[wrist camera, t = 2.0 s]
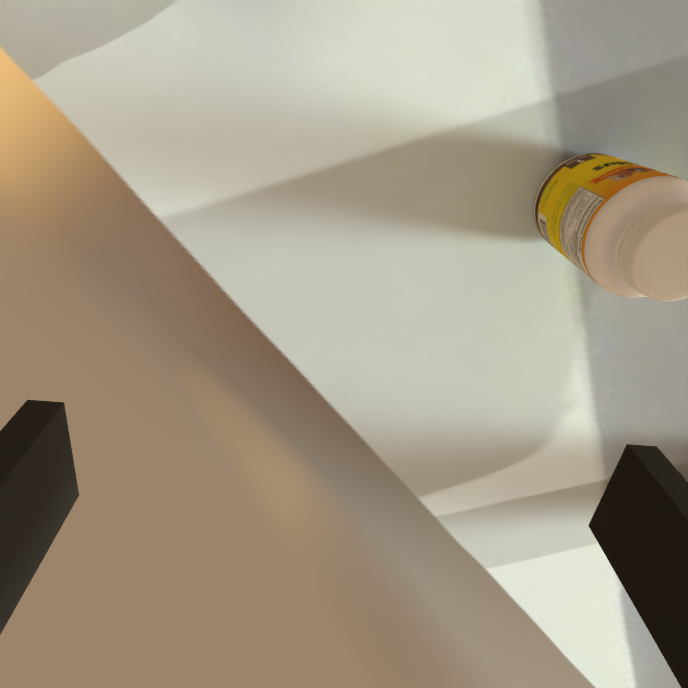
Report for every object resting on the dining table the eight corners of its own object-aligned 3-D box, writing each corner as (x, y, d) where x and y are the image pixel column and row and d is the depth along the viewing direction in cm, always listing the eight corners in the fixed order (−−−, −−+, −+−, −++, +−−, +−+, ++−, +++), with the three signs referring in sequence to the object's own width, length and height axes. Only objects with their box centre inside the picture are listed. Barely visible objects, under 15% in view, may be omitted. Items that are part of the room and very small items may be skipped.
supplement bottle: (645, 167, 30) (783, 214, 21) (594, 257, 32) (698, 334, 23) (558, 136, 29) (663, 170, 20) (513, 231, 31) (588, 300, 22)
